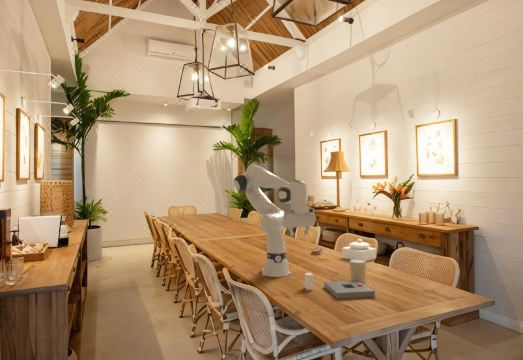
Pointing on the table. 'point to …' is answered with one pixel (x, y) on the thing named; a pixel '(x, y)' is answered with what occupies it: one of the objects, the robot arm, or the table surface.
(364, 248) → the butter dish
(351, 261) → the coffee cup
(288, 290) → the table surface
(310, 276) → the plug
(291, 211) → the robot arm
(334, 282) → the socket plate
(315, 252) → the pencil case
